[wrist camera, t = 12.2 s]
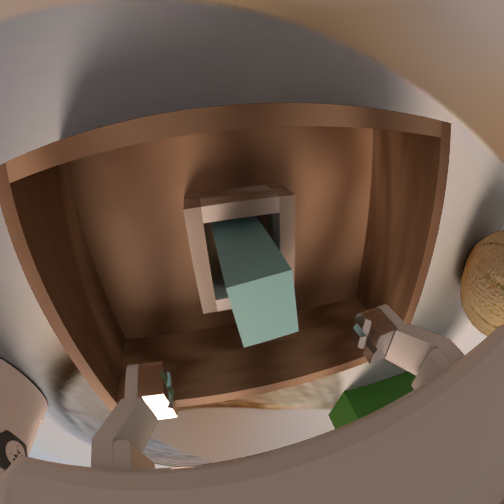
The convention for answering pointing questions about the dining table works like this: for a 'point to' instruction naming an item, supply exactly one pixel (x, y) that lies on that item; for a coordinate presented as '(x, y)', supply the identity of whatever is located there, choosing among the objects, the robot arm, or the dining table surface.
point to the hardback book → (370, 398)
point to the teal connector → (255, 280)
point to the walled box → (203, 244)
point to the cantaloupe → (485, 284)
